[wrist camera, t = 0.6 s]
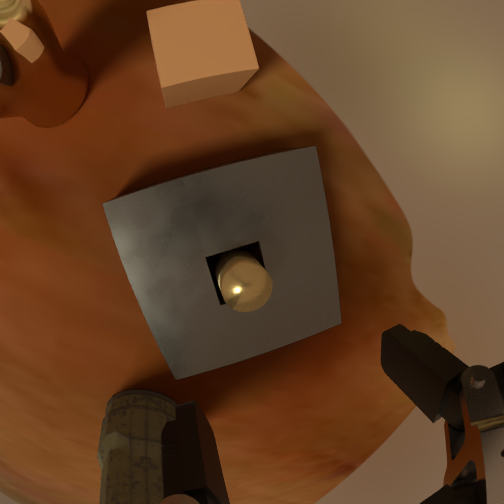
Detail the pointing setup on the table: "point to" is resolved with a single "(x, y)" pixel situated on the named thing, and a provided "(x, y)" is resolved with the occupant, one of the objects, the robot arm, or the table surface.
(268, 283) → the pin
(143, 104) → the table surface
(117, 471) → the green stone statue
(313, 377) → the table surface
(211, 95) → the light brown cube
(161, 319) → the plate
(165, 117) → the table surface
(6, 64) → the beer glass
